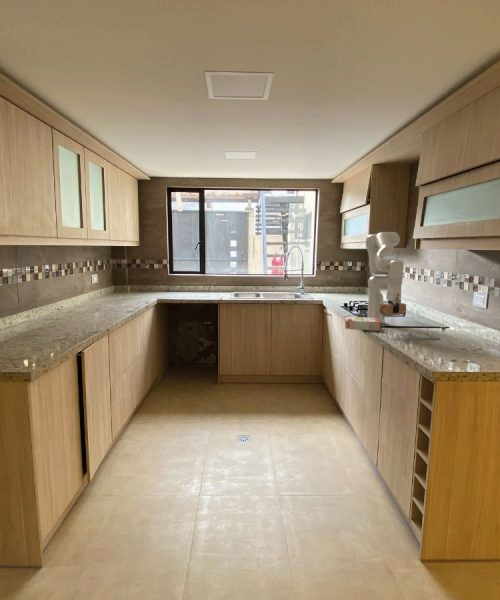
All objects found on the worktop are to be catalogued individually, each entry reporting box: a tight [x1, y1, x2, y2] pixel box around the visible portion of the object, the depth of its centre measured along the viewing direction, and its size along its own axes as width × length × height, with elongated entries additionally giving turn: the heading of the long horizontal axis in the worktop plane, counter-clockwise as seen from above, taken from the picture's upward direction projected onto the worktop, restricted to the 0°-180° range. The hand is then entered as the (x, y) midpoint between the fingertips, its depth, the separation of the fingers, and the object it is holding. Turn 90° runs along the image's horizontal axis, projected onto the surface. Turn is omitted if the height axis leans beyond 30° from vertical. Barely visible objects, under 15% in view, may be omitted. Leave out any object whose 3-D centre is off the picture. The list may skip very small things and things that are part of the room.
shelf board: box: [379, 302, 407, 317], centre depth 219 cm, size 6×14×6 cm, turn 112°
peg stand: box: [400, 328, 441, 341], centre depth 213 cm, size 10×18×4 cm, turn 93°
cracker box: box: [344, 316, 382, 332], centre depth 236 cm, size 14×6×21 cm
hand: (392, 311), depth 220 cm, fingers closed on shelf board, 7 cm apart
